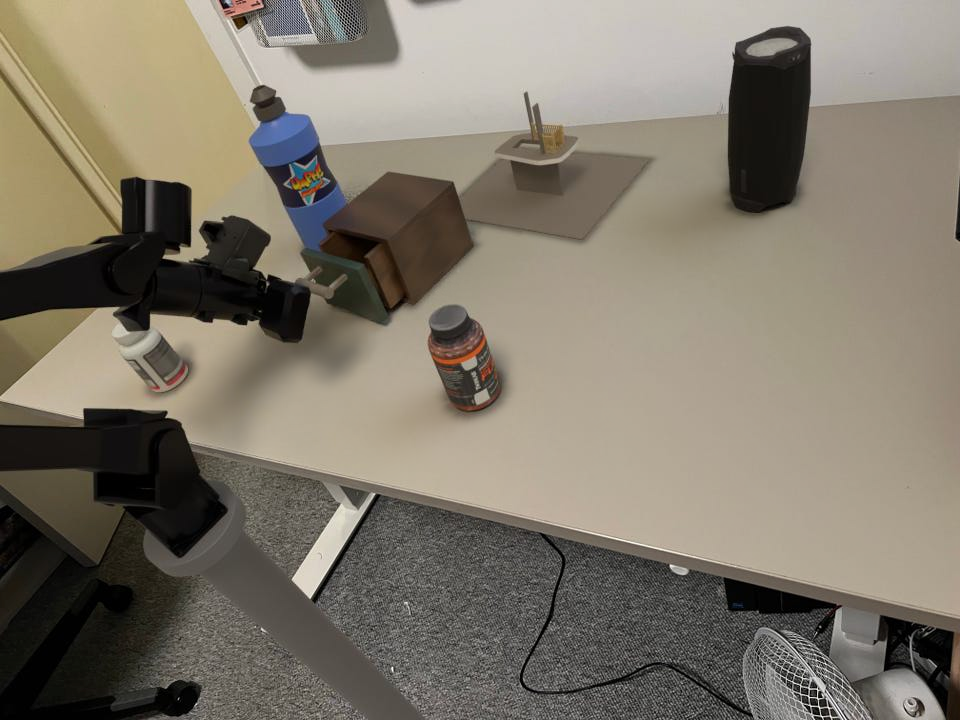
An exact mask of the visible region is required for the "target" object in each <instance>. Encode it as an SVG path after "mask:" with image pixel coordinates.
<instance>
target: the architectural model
mask: <svg viewBox="0 0 960 720" xmlns="http://www.w3.org/2000/svg"><path fill="white" fill-rule="evenodd" d="M523 98H524V104H525V108H526V113H527V119H528V123H529V127H530V132H529V133H528V132H527V133H521V134H515V135H513V136H511V137H510V138H509V139H507V140H506V141H505V142H503V143H502V144H501V145H499V146H498V147H497V148H496V149H495V150H494V155H495V157H496V158H498V159H501V160H499V161H498V162H497V163H496V164H495V165H494V166H492V168H491V169H489V171H487V173H485V175H483V176H482V177H481V178H480V179H479V180H478V181H477V182H476V183H475V184H474V185H473V186H472V187H471V188H470V189H468V191H466V193H464V194H463V196H461V197H460V198H459V201H460V204H461V207H462V210H463V214H464V217H465V220H466V221H473V222H480V223H486V224H489V225H490V224H491V225H495V226H503V227H508V228H514V229H520V230H525V231H532V232H538V233H543V234H548V235H549V234H550V235H555V236H561V237H566V238H567V237H568V238H573V239H578V240H583V239H585V237H586V236H587V235H588V234H589V233H590V231H592V229H593V227H595V225H596V224H597V223H598V222H599V220H601V218H602V217H603V216H604V214H605V213H607V211H608V210H609V208H610V207H612V205H613V204H614V203H615V202H616V201H617V199H618V198H619V196H620V195H621V194H622V193H623V192H624V191H625V189H626V188H627V187H628V186H629V184H631V182H632V181H634V179H635V178H636V177H637V175H638V174H639V172H641V170H642V169H643V168H644V167H645V166H646V165H647V163H648V162H649V159H644V158H633V157H622V156H621V157H619V156H611V155H598V154H587V153H577V152H576V153H574V151H575V150H576V149H577V147H578V146H579V144H580V139H579V137H578V136H573V135H566V134H564V125H563V124H546V123H545V124H543V121H542V117H541V111H540V106H539V102H536V103H535V104H533V106H532V107H531V102H530V97H529V92H528V91H525V92H524V93H523ZM523 144H525V145H536V146H539V148H538V149H531V148H519V147H520V146H521V145H523Z"/></svg>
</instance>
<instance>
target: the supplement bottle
mask: <svg viewBox="0 0 960 720" xmlns="http://www.w3.org/2000/svg"><path fill="white" fill-rule="evenodd" d="M428 326H429V328H430V333H429V335H428V338H427V348H428V352H429V353H430V356H431V358H432V361H433V363H434V366H435V368H436V371H437V373H438V375H439V379H440V380H441V383H442V385H443V388H444V389H445V390H444V391H445V392H446V395H447V396H448V399H449V401H450V403H451V404H452V405H453V407H455V408H456V409H458V410H462V411H468V412H470V411H477V410H482V409H483V408H486V407H487V406H489V405H490V404H492V403H493V402H494V401H495V400H496V398H497V397H498V395H499V393H500V390H501V381H500V377H499V374H498V371H497V369H496V365H495V362H494V359H493V356H492V354H491V349H490V346H489V343H488V339H487V338H486V334H485V331H484V329H483V327H482V325H481V324H480V322H478V321H477V320H476V319H474V318H471V317H470V316H469V313H468V311H467V309H466V307H465V306H463V305H460V304H457V303H451V304H446V305H443V306H440V307H439V308H437V309H435V310H434V311H433V312H432V313H431V314H430V316H429V318H428Z"/></svg>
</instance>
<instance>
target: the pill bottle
mask: <svg viewBox="0 0 960 720" xmlns="http://www.w3.org/2000/svg"><path fill="white" fill-rule="evenodd" d="M111 337H112V338H113V339H114V340H115V342H116V343H117V344H118V345H119V350H118V351H119V354H120V356H121V358H123V360H124V361H125V362H126V363H127V364H128V365H129V367H131V369H132V370H133V371H134V372H135V373H136V374H137V375H138V376H139V378H140V379H141V380H142V381H143V382H144V383H145V384H146V385H147V386H148V387H149V388H150V390H151V391H152V392H156V393H165V392H168V391H170V390H172V389H174V388H176V387H177V386H179V385H180V384H181V383H182V382H183V381H184V380H185V379H186V377H187V375H188V373H189V367H188V366H187V364H186V363H185V362H184V360H183V359H182V358H181V356H180V355H179V354H178V353H177V352H176V350H175V349H174V348H173V347H172V345H171V344H170V343H169V342H168V341H167V339H166V338H165V337H164V336H163V334H162V333H161V332H160V331H159V330H158V329H157V328H155V327H151V326H150V329H149V330H148V331H140V332H127V331H126V329H125V328H124V326H123V325H122V324H121V322H120V321H119V323H117V325H116V326H114V327H113V329H112V331H111Z"/></svg>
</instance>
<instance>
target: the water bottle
mask: <svg viewBox="0 0 960 720" xmlns="http://www.w3.org/2000/svg"><path fill="white" fill-rule="evenodd" d="M249 103H251V104H252V105H254V106H253V107H252V111H253V113H254V115H255V118H256V120H257V121H259V126H258V127H257V128H256V129H255V131H253V133H252V134H251V135H250V136H249V138H248V144H249V146H250V148H251V149H252V151H253V153H254V155H255V158H256V159H257V161H258V162H259V164H260V165H261V166H262V167H263V169H264V170H265V172H266V174H268V176H269V178H270V179H271V181H272V182H273V184H274V185H275V187H276V189H277V192H278V195H279V198H280V200H281V204H282V206H283V208H284V210H285V212H286V214H287V215H288V218H289V219H290V221H291V223H292V226H293V227H294V229H295V231H296V232H297V234H298V237H299V238H300V240H301V242H302V244H303V246H304V249H305V248H309V249H313V250H316V251H320V252H321V250H320V248H319V246H318V243H319V242H320V241H322V240H323V239H324V238H325V237H327V236H328V235H327V233H326V231H325V229H324V227H323V225H322V224H323V223H324V222H325V221H326V220H328V219H329V218H330V217H331V216H333V215H334V214H335V213H337V212H338V211H339V210H340V209H342V208H343V207H344V206H345V205H347V204H348V202H347V199H346V197H345V195H344V193H343V191H342V188H341V187H340V184H339V182H338V180H337V179H336V177H335V176H334V175H333V173H332V171H331V169H330V168H329V166H328V164H327V162H326V158H325V154H324V152H323V149H322V146H321V142H320V137H319V135H318V132H317V130H316V127H315V125H314V123H313V121H312V119H311V117H310V115H308V114H304V113H290V112H288V111H286V110H287V107H286V105H285V104H284V101H283V99H282V97H280V96H277V90H276V89H274V88H272V87H270V86H268V85H267V84H266V85H265V84H259V85H258V86H255V87H254V88H253V89H252V92H251V95H250V98H249Z"/></svg>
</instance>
